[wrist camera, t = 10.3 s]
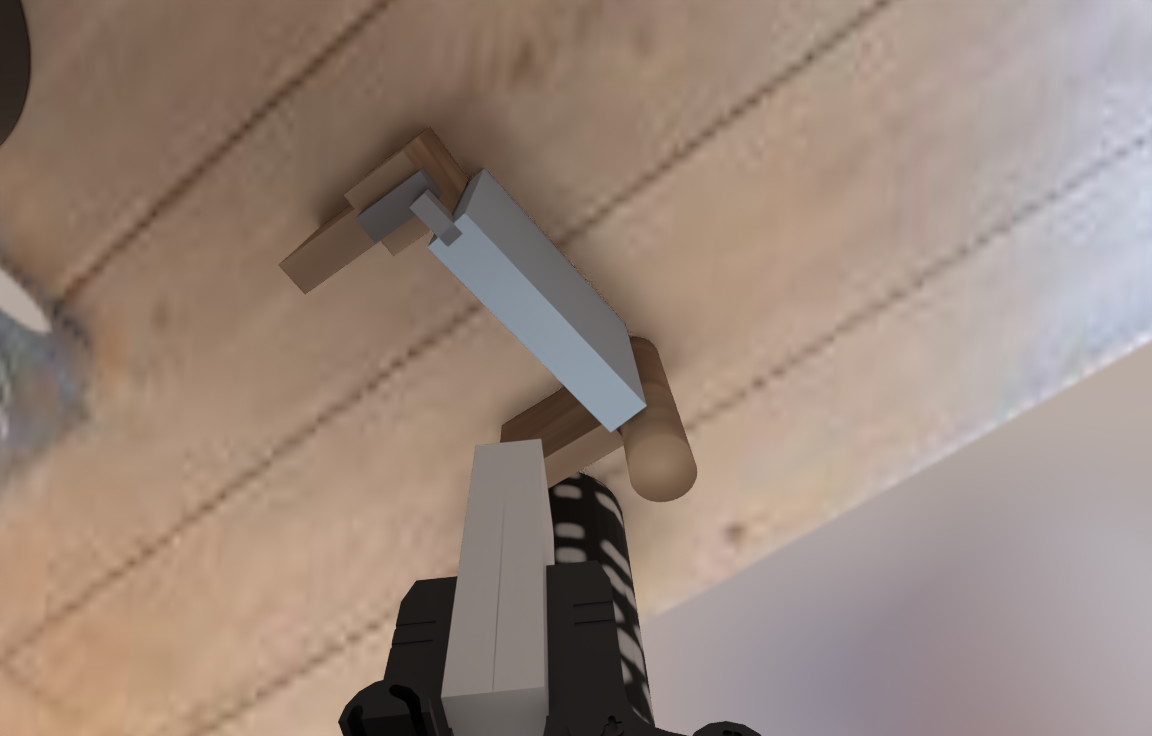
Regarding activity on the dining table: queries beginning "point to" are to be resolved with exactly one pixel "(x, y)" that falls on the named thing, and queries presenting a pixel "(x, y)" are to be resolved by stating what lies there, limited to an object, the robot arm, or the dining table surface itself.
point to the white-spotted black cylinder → (597, 533)
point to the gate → (536, 296)
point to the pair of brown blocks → (559, 419)
